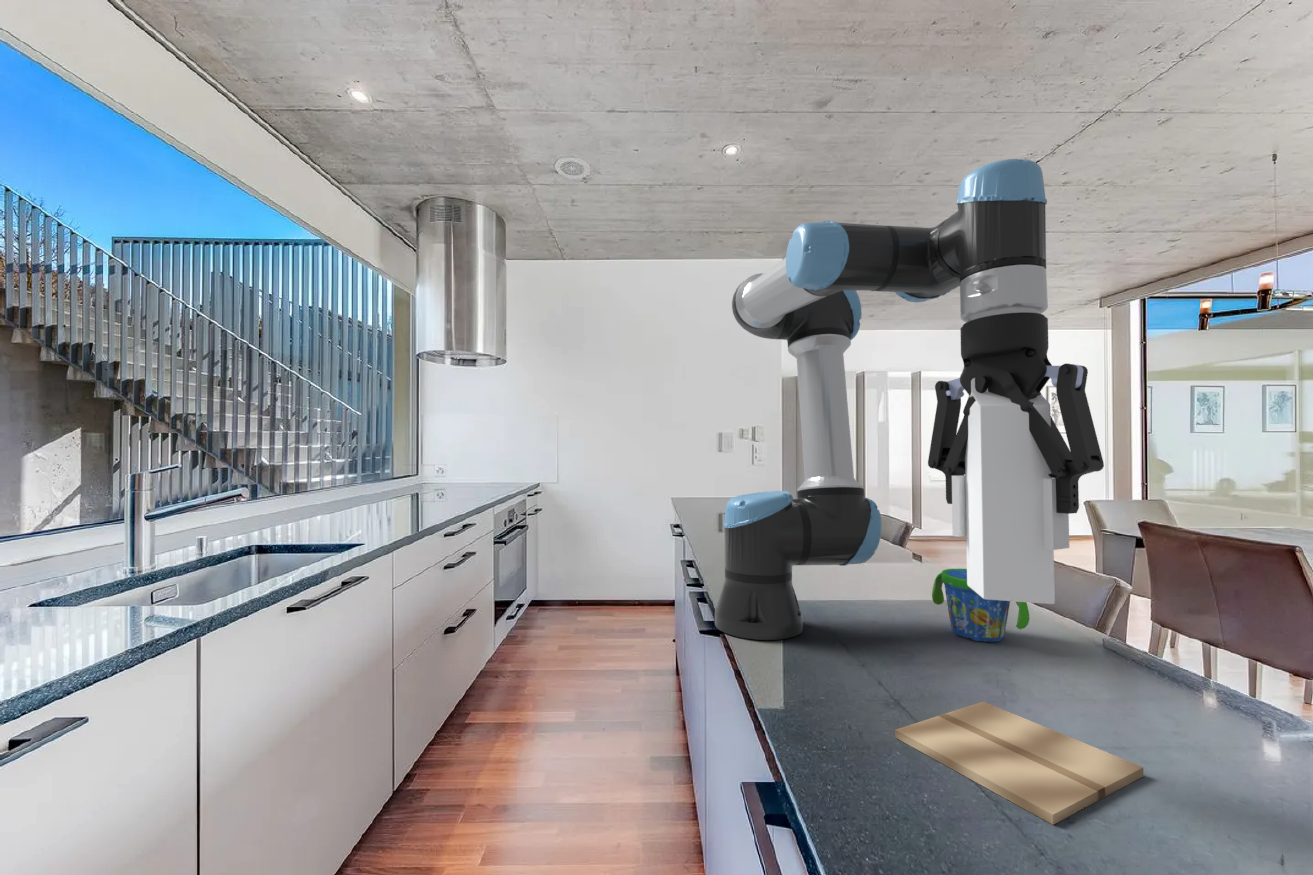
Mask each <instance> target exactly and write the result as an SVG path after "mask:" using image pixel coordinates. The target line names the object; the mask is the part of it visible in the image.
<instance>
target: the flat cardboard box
mask: <svg viewBox="0 0 1313 875" xmlns="http://www.w3.org/2000/svg"><path fill="white" fill-rule="evenodd" d="M894 738H895V739H897V740H900V741H901V742H903V743H905V744H906V745H909V746H910V747H911V748H912V749H913V748H914V749H915V750H917V751H919V752H921V753H923V754H925V755H926V756H928V757H930V758H932V759H933V760H935V761H937V762H939V763H941V765H944V766H946V767H947V768H949V769H951V770H953V771H955V772H957V773H959V774H961V775H963V776H964V777H966V778H967V779H970V780H971V781H973V782H975V783H977V784H978V785H980V786H983V787H985V789H987V790H990V791H992V792H993V793H995V794H996V795H998V796H1000V797H1002V798H1003V799H1006V800H1007V801H1009V802H1011V803H1013V804H1014V805H1017V806H1018V807H1020V808H1021V809H1024V810H1025V811H1027V812H1029V813H1031V814H1032V815H1035V816H1037V817H1038V818H1040V819H1042V820H1044V821H1045V822H1047V823H1049V824H1051V825H1052V826H1053V825H1055V824H1058V823H1059V822H1061V821H1064V820H1065V819H1067V818H1068V817H1070V816H1072V815H1074V814H1076V813H1078V812H1080V811H1081V809H1082V810H1084V809H1085V808H1088V807H1089V806H1091V805H1093V804H1094V803H1097V802H1099V801H1100V800H1102V799H1104V798H1105V797H1107V796H1109V795H1111V794H1113V793H1115V792H1117V791H1118V790H1120V789H1123V788H1124V787H1126V786H1128V785H1130V784H1131V783H1133V782H1134V783H1135V781H1137V780H1139V779H1141V778H1142V777H1144V767H1143V766H1142V765H1139V764H1137V763H1134V762H1132V761H1129V760H1126V759H1124V758H1122V757H1120V756H1117V755H1114V754H1113V753H1112V754H1111V753H1110V752H1107V751H1105V750H1102V749H1100V748H1098V747H1095V746H1093V745H1090V744H1088V743H1086V742H1083V741H1080V740H1078V739H1075V738H1073V737H1072V736H1071V737H1070V736H1069V735H1066V734H1063V733H1061V732H1058V731H1057V730H1054V729H1051V728H1049V727H1046V726H1044V725H1041V724H1039V723H1036V722H1035V721H1032V720H1029V719H1027V718H1024V717H1022V716H1020V715H1017V714H1015V713H1012V712H1009V711H1008V710H1005V709H1003V708H1000V707H998V706H995V705H993V704H991V703H989V702H986V701H980V702H977V703H974V704H971V705H968V706H965V707H961V708H957V709H955V710H952V711H949V712H946V713H945V712H944V713H942V714H938V715H936V716H933V717H929V718H928V719H923V720H921V721H918V722H914V723H912V724H909V725H906V726H901V727H900V728H895V730H894ZM1084 807H1085V808H1084ZM1079 810H1080V811H1079ZM1077 811H1078V812H1077Z"/></svg>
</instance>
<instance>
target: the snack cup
mask: <svg viewBox="0 0 1313 875" xmlns="http://www.w3.org/2000/svg"><path fill="white" fill-rule="evenodd" d="M943 584H944V590H945V591H944V592H945V597H946V604H947V610H948V611H947V612H948V617H949V621H950V627H951V630H952V633H954V634H955V635H956V636H960V637H963V638H966V639H971V640H972V641H976V642H986V643H994V642H996V643H998V642H1001V641H1002V640H1003V639H1004V637H1005V633H1006V629H1007V623H1008V617H1009V610H1010V605H1011V604H1010V603H1011V601H1002V600H988V599H983V598H982V597H981V596H980V595H978V594H977V593H976V592H975V591H974V590H972V589H971V588H970V587H969V586H968V585H967V568H947V569H943V570H942V571H941V572H939V573H938V574H937V575H936V577H935V578H934V581H933V585H932V591H931V600H932V602H933V603H934V604H935V605H943V603H944V601H945V597H944V592H943ZM1014 602H1015V604H1016V605H1017V607H1018V615H1017V620H1016V621H1017V622H1016V626H1015V627H1016V628H1017V629H1019V630H1022V629H1025V628H1026V627H1027V626H1028V625H1029V622H1030V612H1029V606H1028V604H1027V603H1028V602H1016V601H1014Z"/></svg>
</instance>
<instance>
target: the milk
mask: <svg viewBox="0 0 1313 875" xmlns="http://www.w3.org/2000/svg"><path fill="white" fill-rule="evenodd" d="M1041 394H1042V393H1041ZM1041 394H1040V396H1039V395H1038V396H1037V397H1036V398H1033V399H1030V400H1029V401H1030V402H1034V404H1033V406H1034V407H1035V409H1036V410H1037V411H1038V412H1039V414H1040V415H1041V416H1042V417H1043V418H1044V420H1045V421H1046V422H1047V423H1048V425H1049V426H1050V427H1051V417H1052V416H1051V404H1050V402H1049V401H1048V400H1047V399H1046V398H1045V397H1044V396H1043V394H1042V395H1041ZM972 396H974V398H975V400H976V401H975V402H974V403H973V405H972V406H971V407H970V415H969V416H968V439H967V446H966V453H965V484H966V536H965V537H966V569H967V585H968V586H969V587H970V588H971V589H972V590H974V591H975V592H976V593H977V594H978V595H980V596H981V597H982V598H983V599H988V600H1002V601H1010V602H1015V601H1016V602H1026V603H1031V604H1032V603H1033V604H1043V605H1044V604H1046V605H1054V604H1056V600H1055V599H1056V596H1055V595H1056V594H1055V591H1056V590H1055V555H1054V554H1055V553H1054V551H1055V550H1049V549H1044V514H1043V479H1051V477H1050V476H1049V475H1048V474H1051V473H1052V472H1051V471H1050V469H1049V467H1048V465H1047V463H1046V461H1045V459H1044V457H1043V455H1042V453H1041V452H1040V450H1039V448H1038V446H1037V444H1036V442H1035V440H1034V438H1033V436H1032V434H1031V432H1030V431H1029V413H1028V412H1024V411H1022V410H1021V408H1020V405H1018V404H1015V403H1012V402H1011V400H1010V399H1009V398H1006V397H1003V396H1000V395H997V394H993V393H990V392H988V388H987V391H986V392H984V393H979V392H977V391H976V389H975V378H973V379H972V380H971V395H970V397H972ZM1016 602H1015V603H1016Z"/></svg>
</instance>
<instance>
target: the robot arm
mask: <svg viewBox="0 0 1313 875" xmlns="http://www.w3.org/2000/svg"><path fill="white" fill-rule="evenodd" d="M1047 204H1048V199H1047V198H1046V191H1045V183H1044V175H1043V171H1042V168H1041V166H1040V165H1039V163H1036V162H1035V161H1034V160H1033V161H1032V160H1030V159H1022V158H1021V159H1020V158H1019V159H1018V158H1008V159H1001V160H998V161H997V160H996V161H994V162H990V163H987V164H985V165H982V166H981V167H978V168H976V169H974V170H971V172H969V173H967V175H966V176H965V177H964V178H963V179H962V180H961V183H960V184H959V186H958V193H957V200H956V205H957V211H956V212H954V213H953V214H952V215H950V216H949V217H948V218H946V219H945V220H943V221H942V222H940V223H939V224H938V225H936V226H933V227H922V226H921V227H919V226H918V227H917V226H899V225H880V224H879V225H878V224H865V223H848V222H836V221H831V220H825V221H820V222H819V221H817V222H815V221H814V222H812V221H811V222H803V223H801V224H799V225H798V226H796V228H795V229H794V230H793V232H792V236H791V238H790V239H789V241H788V243H787V244H788V245H787V249H786V253H785V254H786V255H785V258H783V259H782V260H780V261H779V262H777V263H776V264H775V265H774V266H772V267H770V268H769V269H767V271H765V272H764V273H756V274H753V275H751V276H748V277H747V278H746V279H745V280H743V281H742V282H741V283H740V284H739V285H738V286H737V288H736V289H735V291H734V293H733V295H732V301H731V310H732V314H733V317H734V319H735V321H736V323H738V325H739V326H740V327H741V328H742V329H744V330H745V331H746V332H748V333H749V334H751V335H754V336H756V337H759V338H763V339H767V340H784V341H786V342H787V351H788V353H789V355H791V356H792V357H793V358H795V359H796V368H797V381H798V382H797V384H798V386H797V387H798V397H799V398H798V399H799V400H798V401H799V411H800V412H799V413H800V414H799V415H800V427H801V441H802V442H801V443H802V457H803V473H804V480H803V483H801V485H800V486H799V487H798V488H797V490H796V493H797V494H796V496H797V498H794V497H793V496H792V493H791V492H790V491H787V490H775V491H773V490H772V491H761V492H760V491H759V492H752V493H746V494H742V495H741V494H740V495H736V496H733V497H732V498H730V499H729V500H728V501H727V502H726V505H725V509H724V510H725V512H724V520H723V528H724V582H723V586H722V587H721V588H722V589H721V591H720V594H719V598H718V601H717V604H716V608H715V610H714V626H715V627H716V628H717V630H719V631H720V632H722V633H725V634H727V635H730V636H734V637H737V638H742V639H750V640H759V641H777V640H784V639H785V640H786V639H790V638H794V637H797V636H799V635H800V634H801V633H802V632H803V631H804V618H803V613H802V611H801V609H800V605H799V601H798V598H797V595H796V592H795V589H794V586H793V567H794V566H842V567H843V566H844V567H845V566H849V565H858V564H859V565H860V564H864V563H867V562H868V561H869V560H870V559H872V558H873V556H874V555H875V553H876V551H877V550H878V547H879V545H880V542H881V537H882V530H883V529H882V528H883V527H882V526H883V525H882V524H883V523H882V517H881V516H882V515H881V512H880V510H879V509H878V505H877V504H876V502H875V501H874V500H872V499H870V498H868V497H866V496H865V487H864V486H863V485H862V484H861V483H859V482H858V481H857V480H856V478H855V476H854V475H855V474H854V465H853V464H854V463H853V450H852V440H851V427H850V426H851V425H850V416H849V405H848V404H849V403H848V394H847V393H848V392H847V391H848V390H847V382H846V369H845V358H844V357H845V356H844V353H845V352H846V351H847V350H848V349H849V348H850V346H851V345H852V340H853V339H854V338H856V336H857V335H858V333H859V330H860V329H861V328H860V327H861V323H860V320H861V319H862V304H861V303H862V302H861V299H860V296H859V294H858V292H857V291H871V292H883V293H885V292H886V293H888V292H889V293H895V294H896V295H897V296H898V297H900V298H902V299H904V300H906V301H907V302H911V303H923V302H927V301H929V300H934V299H938V298H939V297H941V296H945V295H946V294H948V293H950V292H951V291H953V290H955V289H956V288H958V287H959V295H960V297H959V299H960V300H959V301H960V302H959V303H960V306H959V307H960V319H961V321H963V322H965V323H964V324H963V325H962V327H960V355H961V356H960V357H961V359H962V363H963V368H962V372H961V374H960V377H959V378H958V377H957V378H955V379H952V380H949V381H945V380H938V381H937V382H936V383H935V385H934V389H935V395H936V400H937V402H936V410H935V415H934V421H933V428H932V429H933V430H932V434H931V440H930V447H929V452H928V460H927V465H928V467H929V468H930V469H935V470H938V471H940V472H942V473H943V474H944V476H945V500H946V502H947V504H948V505H952V506H951V507H952V508H951V510H952V511H951V513H952V537H956V538H957V537H958V538H959V537H960V538H962V537H963V538H964V537H966V484H965V453H966V446H967V439H968V416H969V415H970V407H971V406H972V405H973V403H974V402H975V401H976V400H975V398H974V396H972V397H970V395H971V380H972V379H973V378H975V389H976V391H977V392H979V393H984V392H986V391H987V388H988V392H990V393H993V394H997V395H1000V396H1003V397H1006V398H1009V399H1010V400H1011V402H1012V403H1015V404H1018V405H1020V408H1021V410H1022V411H1024V412H1028V413H1029V431H1030V432H1031V434H1032V436H1033V438H1034V440H1035V442H1036V444H1037V446H1038V448H1039V450H1040V452H1041V453H1042V455H1043V457H1044V459H1045V461H1046V463H1047V465H1048V467H1049V469H1050V471H1051V472H1052V473H1051V474H1048V475H1049V476H1050V477H1051V479H1043V514H1044V549H1049V550H1054V551H1058V550H1062V549H1063V550H1065V549H1070V520H1069V519H1070V516H1069V515H1071V514H1077V513H1078V511H1079V509H1080V499H1079V497H1080V496H1079V494H1080V493H1079V492H1080V491H1079V480H1080V478H1081V477H1082V476H1084V475H1087V474H1088V475H1089V474H1091V473H1094V472H1099V471H1102V470H1103V468H1104V466H1105V465H1104V464H1105V463H1104V460H1103V455H1102V452H1101V448H1100V444H1099V439H1098V436H1097V433H1096V428H1095V425H1094V421H1093V416H1092V414H1091V409H1090V406H1089V401H1088V398H1087V394H1086V387H1087V386H1086V384H1087V379H1088V375H1089V374H1088V373H1089V372H1088V368H1087V367H1085V366H1084V365H1080V364H1073V363H1063V364H1062V365H1052V363H1051V362H1050V360H1049V359H1048V358H1049V357H1048V351H1049V319H1048V317H1046V316H1045V315H1044V314H1043V313H1044V312H1046V311H1047V310H1048V308H1049V304H1048V303H1049V302H1048V281H1047V243H1046V242H1047V236H1046V235H1047V234H1046V231H1047V230H1046V229H1047V228H1046V227H1047V226H1046V225H1047V224H1046V219H1047V218H1046V216H1047V215H1046V205H1047ZM1049 380H1050V381H1051V384H1052V386H1053V387H1054V388H1055V391H1056V396H1057V397H1056V398H1057V402H1058V405H1059V410H1060V415H1061V418H1062V422H1063V426H1064V431H1065V434H1066V439H1067V443H1068V445H1067V443H1066V441H1065V439H1064V437H1063V435H1062V434H1061V432H1060V430H1059V428H1058V427H1057V424H1056V423H1055V421H1054V420H1053V417H1052V416H1051V427H1050V426H1049V425H1048V423H1047V422H1046V421H1045V420H1044V418H1043V417H1042V416H1041V415H1040V414H1039V412H1038V411H1037V410H1036V409H1035V407H1034V406H1033V404H1034V402H1030V401H1029V400H1030V399H1033V398H1036V397H1037V396H1038V395H1039V396H1040V394H1041V395H1042V396H1043V394H1042V393H1041V392H1042V390H1043V389H1044V387H1045V386H1046V384H1047V383H1048V382H1049ZM964 390H965V392H966V394H968V398H967V401H966V403H965V406H964V408H963V411H962V413H963V418H962V419H961V420H962V421H960V422H961V423H960V424H959V419H960V413H961V407H962V398H963V397H964V395H965V393H964ZM958 425H959V428H958Z"/></svg>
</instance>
